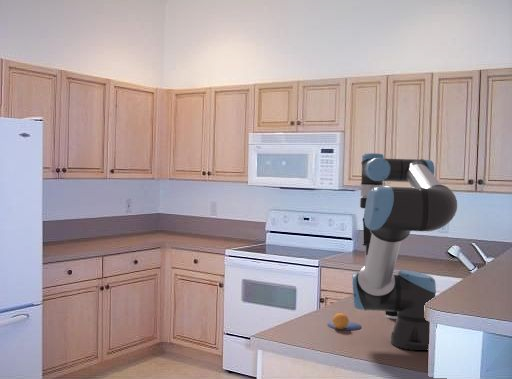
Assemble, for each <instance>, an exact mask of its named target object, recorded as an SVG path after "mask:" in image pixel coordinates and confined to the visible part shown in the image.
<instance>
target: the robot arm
mask: <svg viewBox="0 0 512 379" xmlns="http://www.w3.org/2000/svg"><path fill="white" fill-rule="evenodd" d="M361 157H362V158H361V179H360V180H361V182H360V183H361V184H360V187H359V188H358V189H359V190H360V196H361V197H360V202H359V206H360V208H361V209H364V213H363V217H362V222H363V223H362V225H363V226H362V227H363V243H362V246H363V247H364V246H365V248H364V266H363V267H362V268H361V269H360V270H359V272H355V273H352V274H351V275H352V276H351V277H352V278H351V279H352V293H353V296H352V297H353V307H354V308H355V309H356V310H363V311H375V312H376V311H378V312H379V311H381V312H382V311H383V312H385V311H397V319H395V320H396V321H395V324H394V326H393V328H392V329H393V331H392V332H391V333H390V343H391V344H392V345H393V346H395V347H397V348H399V347H400V348H399V349H403V348H404V350H407V349H410V350H409V351H413V350H427V349H428V344H429V322H428V321H426V320H425V318H424V305H425V303H426V302H428V301H429V300H431V299H432V298H434V297H435V298H436V293H437V289H436V288H437V287H436V285H437V284H436V280H435V278H434V277H432V276H431V275H429V274H425V273H421V272H417V271H412V270H405V269H404V270H403V269H401V270H399V271H398V273H397V274H394V270H395V266H396V264H397V259H398V255H399V253H400V249H401V245H402V243H403V241H405V240H406V239H407V238H408V237H409V235H410V233H411V232H432V231H437V230H439V229H441V228H444V227H445V226H447V225H448V224H449V223H450V222H451V221H452V220H453V219H454V217H455V215H456V213H457V210H458V200H457V197H456V195H455V194H454V192H453V191H452V189H450V188H449V187H448V186H446V185H443V184H442V183H441V182H440V181H439V179H437V177H436V176H435V165H434V162H433V161H432V160H429V159H424V158H420V159H419V158H417V159H412V158H411V159H410V158H409V159H408V158H385V157H384V154H382V153H376V152H375V153H373V152H371V153H370V152H368V153H363V154H362V156H361ZM384 182H402V183H403V182H404V183H405V182H407V183H409V185H410V186H411V187H405V186H404V187H401V186H397V187H396V186H390V185H383V184H384Z"/></svg>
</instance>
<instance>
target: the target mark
mask: <svg viewBox="0 0 512 379" xmlns="http://www.w3.org/2000/svg"><path fill="white" fill-rule="evenodd" d="M327 326H328V327H329V328H331V329H334V330H339V331H358V330H360V329H362V325H361V324H360V323H357V322H352V321H349V323H348V325H347V327H346V328H344V329H338V328H336V327H335V326H334V324H333V321H329V322H328V323H327Z"/></svg>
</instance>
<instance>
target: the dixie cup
mask: <svg viewBox="0 0 512 379" xmlns="http://www.w3.org/2000/svg"><path fill="white" fill-rule="evenodd" d="M384 312H385V315H386V318H388V319H392V320H397V311H384Z"/></svg>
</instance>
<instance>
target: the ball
mask: <svg viewBox="0 0 512 379" xmlns="http://www.w3.org/2000/svg"><path fill="white" fill-rule="evenodd" d="M332 322H333V324H334V326H335V327H336V328H338V329H344V328H346V327H347V325H348V323H349V322H350V321H349V318H348V316H347V314H345V313H342V312H341V313H340V312H339V313H338V312H337V313H336V314H335V315H334V316H333V318H332ZM338 329H337V330H338Z"/></svg>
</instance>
